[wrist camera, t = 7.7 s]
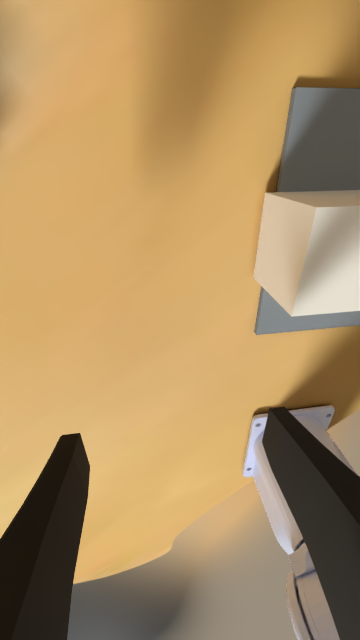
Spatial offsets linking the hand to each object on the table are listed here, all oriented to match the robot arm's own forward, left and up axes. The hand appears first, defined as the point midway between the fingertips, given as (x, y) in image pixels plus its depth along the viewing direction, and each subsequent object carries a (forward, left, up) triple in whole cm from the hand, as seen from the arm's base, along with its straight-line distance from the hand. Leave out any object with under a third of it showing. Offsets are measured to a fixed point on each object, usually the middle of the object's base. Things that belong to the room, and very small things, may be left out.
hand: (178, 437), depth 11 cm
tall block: (+5, -6, -6) cm, 10 cm away
